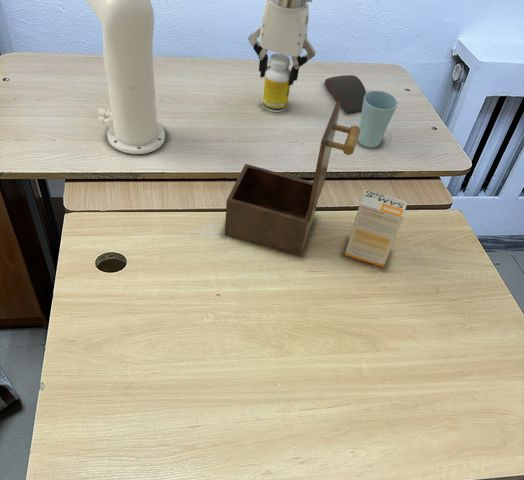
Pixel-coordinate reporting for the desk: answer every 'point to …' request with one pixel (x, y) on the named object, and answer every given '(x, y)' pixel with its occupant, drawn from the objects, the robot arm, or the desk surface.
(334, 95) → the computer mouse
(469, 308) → the desk surface
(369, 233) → the supplement box
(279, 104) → the pill bottle
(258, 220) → the chest
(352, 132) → the lid
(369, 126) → the cup
